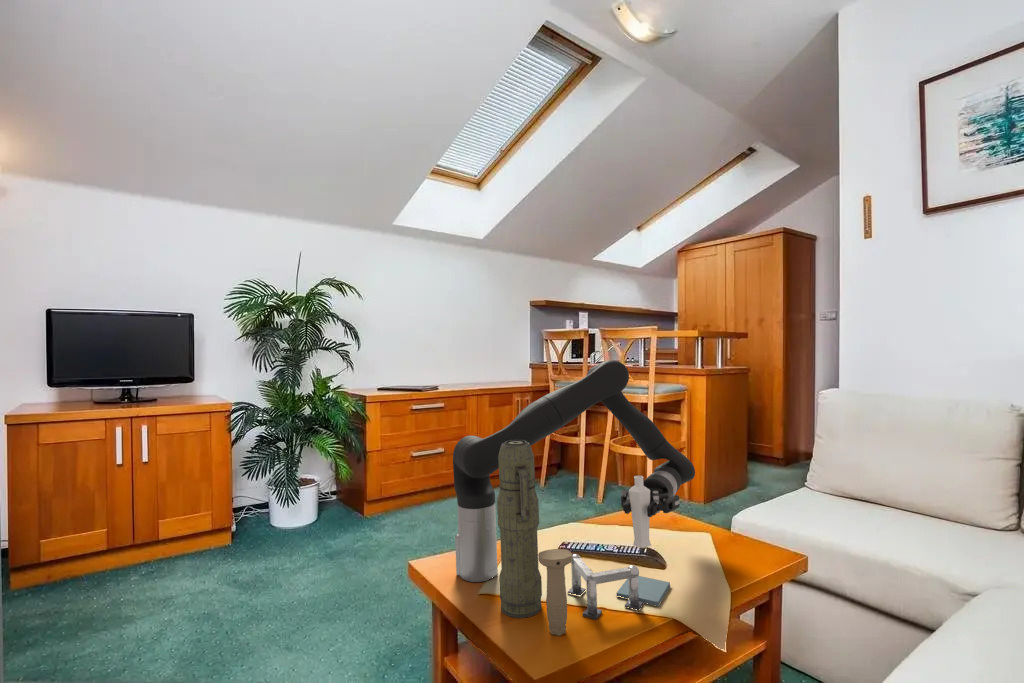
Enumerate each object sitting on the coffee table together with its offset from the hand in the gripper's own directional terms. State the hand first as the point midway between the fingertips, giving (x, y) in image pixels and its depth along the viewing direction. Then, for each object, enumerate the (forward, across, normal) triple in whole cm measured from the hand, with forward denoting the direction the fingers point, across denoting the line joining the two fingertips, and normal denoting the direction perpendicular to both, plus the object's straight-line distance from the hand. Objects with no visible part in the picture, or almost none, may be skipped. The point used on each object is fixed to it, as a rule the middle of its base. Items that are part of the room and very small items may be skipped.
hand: (637, 510), depth 112 cm
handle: (+21, -10, +19) cm, 30 cm away
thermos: (+16, -21, +19) cm, 32 cm away
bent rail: (+8, -7, +19) cm, 21 cm away
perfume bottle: (-3, 0, +8) cm, 9 cm away
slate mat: (-2, 0, +19) cm, 19 cm away
